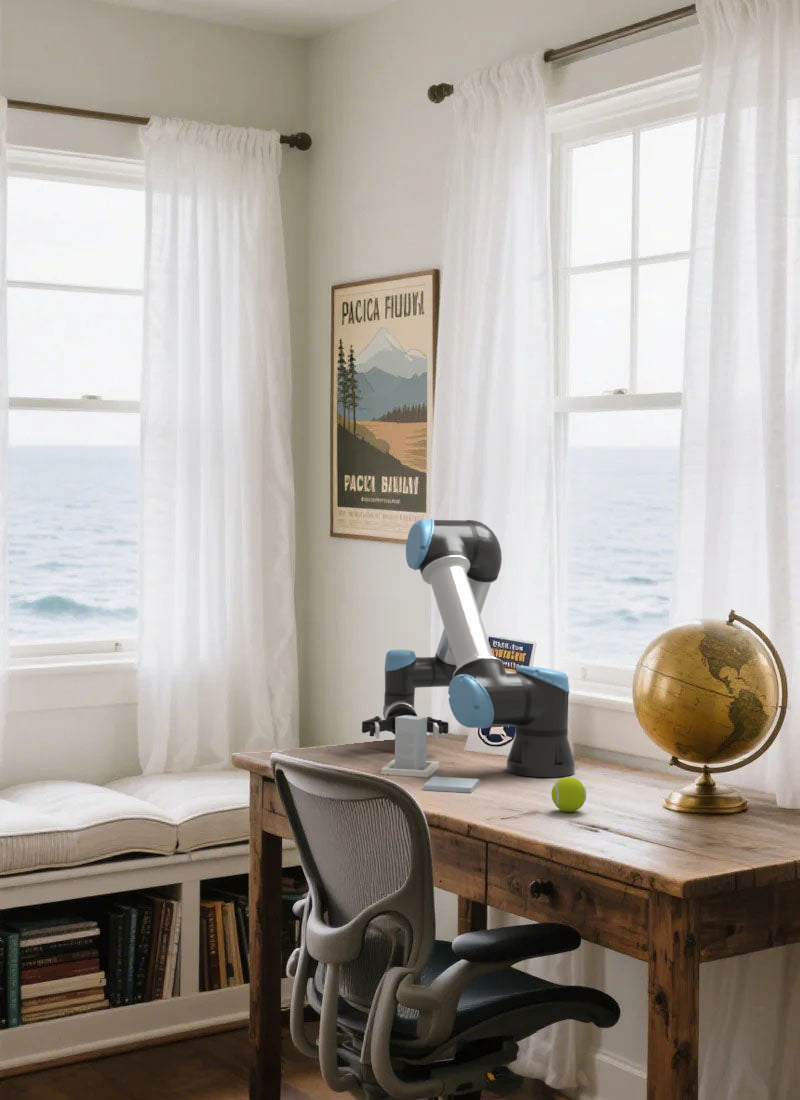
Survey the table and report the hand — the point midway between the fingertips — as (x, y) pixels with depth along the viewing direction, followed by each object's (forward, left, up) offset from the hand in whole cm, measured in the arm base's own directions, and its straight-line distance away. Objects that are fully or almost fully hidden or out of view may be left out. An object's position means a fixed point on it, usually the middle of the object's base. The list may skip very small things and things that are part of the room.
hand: (407, 732), depth 319 cm
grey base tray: (-3, +9, -7) cm, 11 cm away
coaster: (-15, +24, -7) cm, 29 cm away
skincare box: (-3, +9, -7) cm, 12 cm away
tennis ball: (-41, +41, -7) cm, 58 cm away
